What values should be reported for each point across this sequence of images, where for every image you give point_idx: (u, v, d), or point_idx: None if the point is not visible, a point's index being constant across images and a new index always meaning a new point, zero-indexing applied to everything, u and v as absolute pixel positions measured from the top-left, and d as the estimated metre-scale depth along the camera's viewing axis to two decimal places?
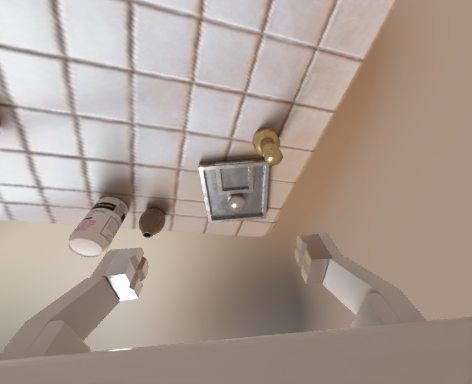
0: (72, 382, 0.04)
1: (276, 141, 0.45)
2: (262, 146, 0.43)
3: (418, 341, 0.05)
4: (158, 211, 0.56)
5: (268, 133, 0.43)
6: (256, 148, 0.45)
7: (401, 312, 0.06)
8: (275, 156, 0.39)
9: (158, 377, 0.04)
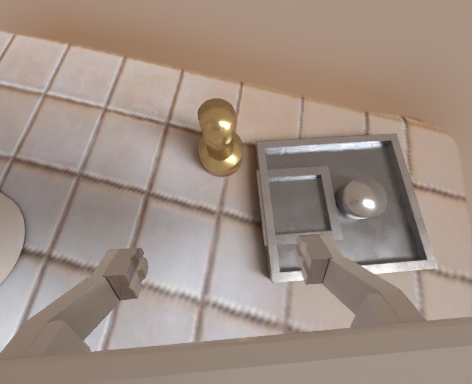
0: (72, 382, 0.04)
1: None
2: (214, 151, 0.23)
3: (418, 341, 0.05)
4: None
5: (199, 148, 0.25)
6: (227, 165, 0.25)
7: (401, 312, 0.06)
8: (213, 111, 0.19)
9: (158, 377, 0.04)
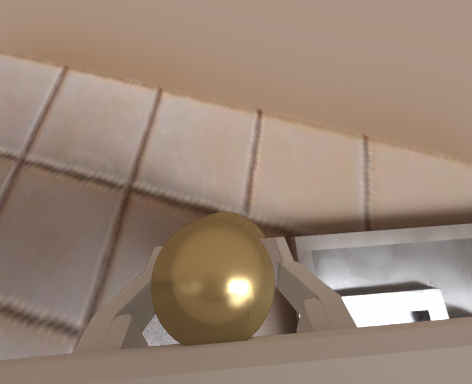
0: (72, 382, 0.04)
1: None
2: None
3: (418, 341, 0.05)
4: None
5: None
6: None
7: (334, 318, 0.06)
8: (202, 269, 0.06)
9: (158, 377, 0.04)
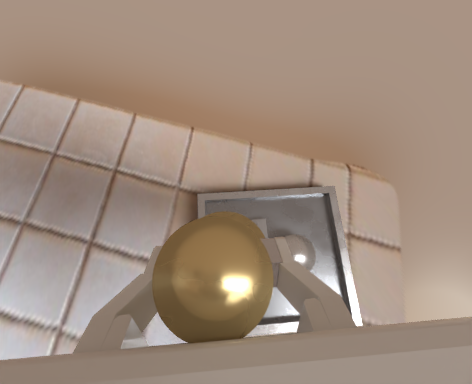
0: (72, 382, 0.04)
1: None
2: None
3: (418, 341, 0.05)
4: None
5: None
6: None
7: (334, 318, 0.06)
8: (202, 266, 0.06)
9: (158, 377, 0.04)
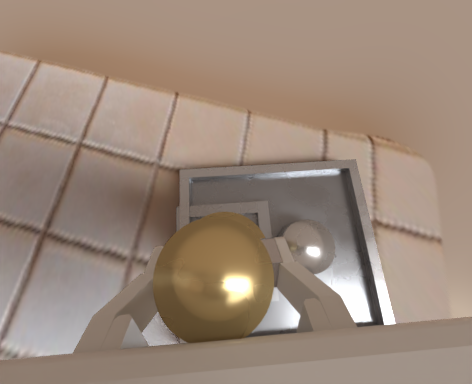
0: (72, 382, 0.04)
1: None
2: None
3: (418, 341, 0.05)
4: None
5: None
6: None
7: (334, 318, 0.06)
8: (203, 267, 0.06)
9: (158, 377, 0.04)
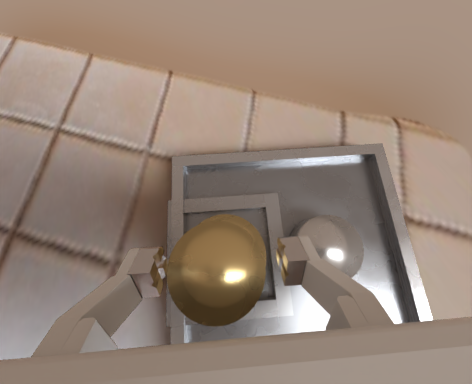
0: (72, 382, 0.04)
1: None
2: None
3: (418, 341, 0.05)
4: None
5: None
6: None
7: (370, 315, 0.06)
8: (207, 261, 0.07)
9: (158, 377, 0.04)
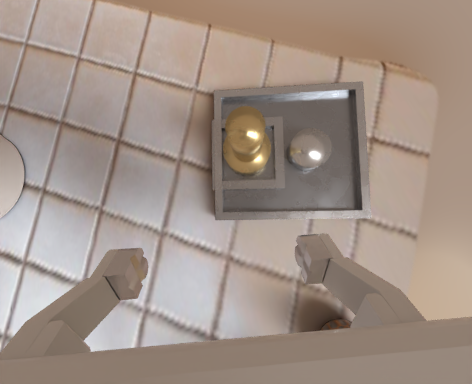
0: (72, 382, 0.04)
1: None
2: (240, 157, 0.22)
3: (418, 341, 0.05)
4: None
5: (225, 148, 0.24)
6: (253, 168, 0.24)
7: (401, 312, 0.06)
8: (241, 122, 0.17)
9: (158, 377, 0.04)
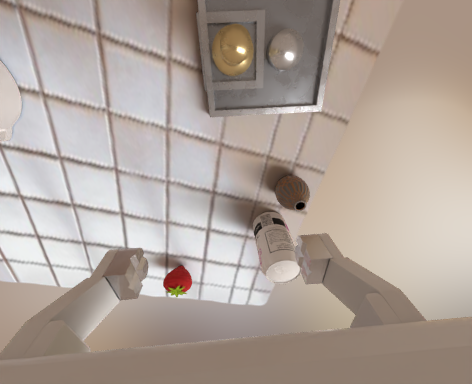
0: (72, 382, 0.04)
1: None
2: (228, 64, 0.27)
3: (418, 341, 0.05)
4: (279, 181, 0.41)
5: (214, 51, 0.28)
6: (238, 71, 0.29)
7: (401, 312, 0.06)
8: (233, 41, 0.22)
9: (158, 377, 0.04)
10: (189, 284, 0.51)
